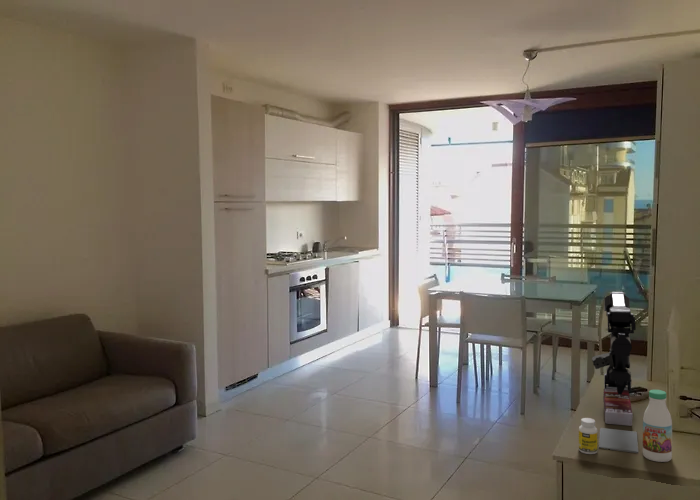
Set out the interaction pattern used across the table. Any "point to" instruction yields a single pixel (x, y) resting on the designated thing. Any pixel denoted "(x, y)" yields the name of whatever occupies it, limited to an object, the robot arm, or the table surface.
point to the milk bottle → (657, 428)
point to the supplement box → (617, 407)
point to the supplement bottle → (588, 436)
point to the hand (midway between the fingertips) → (619, 393)
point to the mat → (618, 440)
